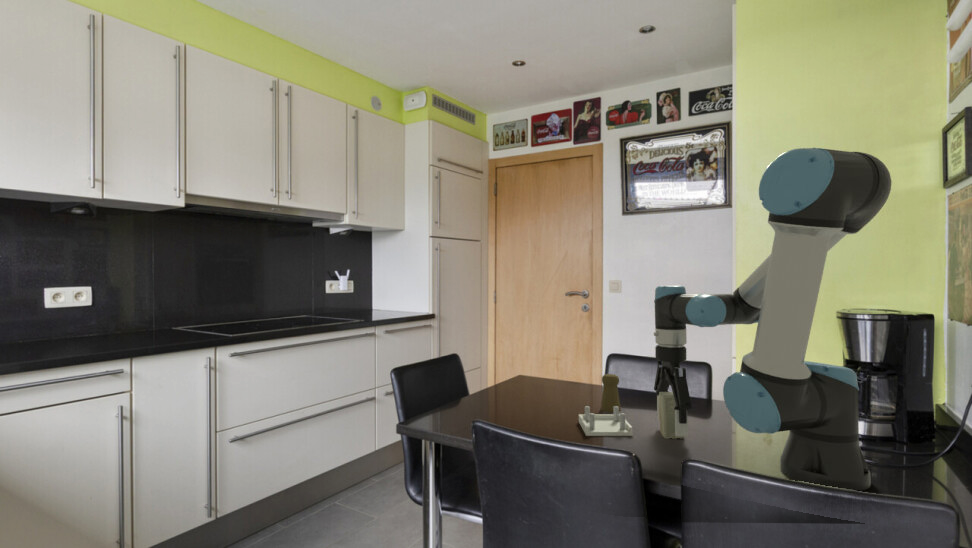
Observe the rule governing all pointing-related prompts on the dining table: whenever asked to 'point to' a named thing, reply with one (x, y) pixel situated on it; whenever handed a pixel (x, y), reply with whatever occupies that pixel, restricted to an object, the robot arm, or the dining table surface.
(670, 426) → the box
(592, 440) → the dining table surface
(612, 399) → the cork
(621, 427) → the tray
